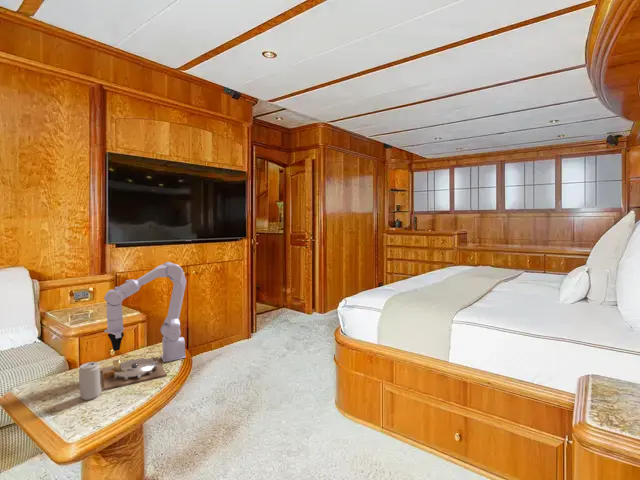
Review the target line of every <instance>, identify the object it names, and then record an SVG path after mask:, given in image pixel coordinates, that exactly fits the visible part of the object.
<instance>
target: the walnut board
mask: <svg viewBox="0 0 640 480" xmlns="http://www.w3.org/2000/svg"><path fill="white" fill-rule="evenodd" d="M151 358H152V359H153V360H154V361H158V369H154V370H153V371H152V373H151V374H146V375H143V376H141V377H139V378H138V377H136V378H129V379H127V380H125V379H121V378H118V379H114V376H110V371H111V368H112V367H113V365H111V366H106V367H102V368H101V370H102V379H103V389H104V391H107V390H111V389H116V388H121V387H125V386H130V385H134V384H138V383H142V382H147V381H152V380H155V379H159V378H164V377H167V372H166V371H165V368H164V367H163V365H162V363H161V360H160V358H159V357H158V356H155V357H150V358H149V359H151Z"/></svg>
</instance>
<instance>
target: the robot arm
mask: <svg viewBox="0 0 640 480" xmlns="http://www.w3.org/2000/svg"><path fill="white" fill-rule="evenodd" d="M157 278H168V279H169V280H171V282H172V283H173V286H172V291H171V297H170V302H169V305H168V306H169V307H168V311H167V316H166V317H165V319H164V322H163V324H162V325H161V327H160V333H161V335H162V336H163V337H162V339H161V340H162V355H160V358H161V359H162V361H163V363H167V362H172V361H177V360H180V359H181V360H182V359H185V358H186V342H185V338H184V337H183V336H181V335H182V332H181V322H180V317H181V312H182V311H181V310H182V306H183V301H184V295H185V291H186V286H187V278H186V276H185V273H184V269H183V268H182V267H181V266H180V265H179V264H177V263H173V262H171V261H165V262H164V263H163V264H160V265H157V266H156V267H155V268H153V269H151V270H150V271H148V272H147V273H145V274H144V275H142V276H140V277H139V278H137V279H132V278H131V279H126V280H125V282H124V283H122V284H121V285H119V286H115V287H114V289H109V290H108V291H106V292H105V295H104V297H103V299H104V301H105V302H106V323H107V324H106V325H107V328H106V329H105V330H103V331H104V333H105V334H106V333H108V334H107V336H108V339H109V340H110V343H111V346H112V350H113V352H117V351H120V349H121V344H122V341H123V338H124V336H125V334H124V331H125V328H124V319H123V305H122V302H123V301H124V300H125V299H127V298H128V297H129V298H130V296H132V295H134V294H135V293H137V292H139V291H140V289H141V287H143V286H144V285H145V284H149V282H151V281H153V280H155V279H157Z"/></svg>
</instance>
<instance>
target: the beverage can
mask: <svg viewBox="0 0 640 480" xmlns="http://www.w3.org/2000/svg"><path fill="white" fill-rule="evenodd" d="M78 379H79V380H78V382H79V395H80V399H82V400H84V401H89V400H93V399H96V398H97V397H98V396H99V395H101V391H102V390H101V389H102V387H101V371H100V365H99V362H97V361H89V362H85V363H83V364H81V365H80V366H79V369H78Z"/></svg>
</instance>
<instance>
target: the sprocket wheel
mask: <svg viewBox="0 0 640 480" xmlns="http://www.w3.org/2000/svg"><path fill="white" fill-rule="evenodd" d="M150 358H151V359H150ZM150 358H144V357H141V358H135V359H129V360H126V361H123V362H122V360H121V359H114V360H113V361H112V366H113V367H112V368H111V371H110V376H114V379H118V378H121V379H125V380H127V379H129V378H136V377H138V378H139V377H141V376H143V375H146V374H151V373H152V371H153V370H154V369H158V361H154V360H153V359H152V358H153V357H150Z"/></svg>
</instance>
